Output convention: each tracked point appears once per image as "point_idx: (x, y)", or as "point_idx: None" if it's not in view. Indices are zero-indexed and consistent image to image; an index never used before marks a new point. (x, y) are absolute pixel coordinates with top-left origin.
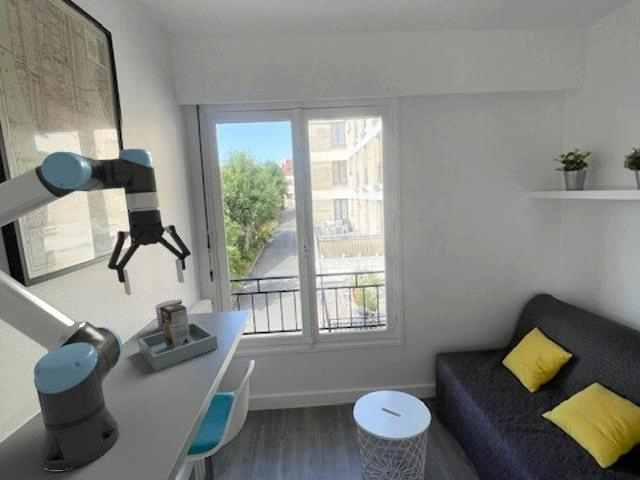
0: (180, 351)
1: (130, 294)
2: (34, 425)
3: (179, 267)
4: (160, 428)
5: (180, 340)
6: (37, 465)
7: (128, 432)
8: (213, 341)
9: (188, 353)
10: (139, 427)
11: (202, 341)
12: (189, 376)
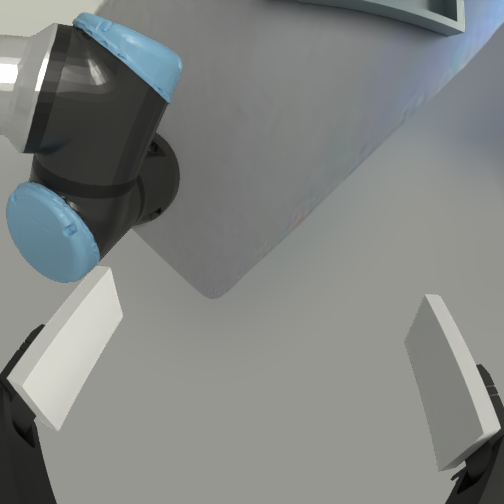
0: (369, 4)
1: (120, 317)
2: None
3: (429, 424)
4: (232, 221)
5: None
6: None
7: (191, 190)
8: (450, 30)
9: (384, 12)
10: (207, 191)
11: (429, 19)
12: (344, 92)
